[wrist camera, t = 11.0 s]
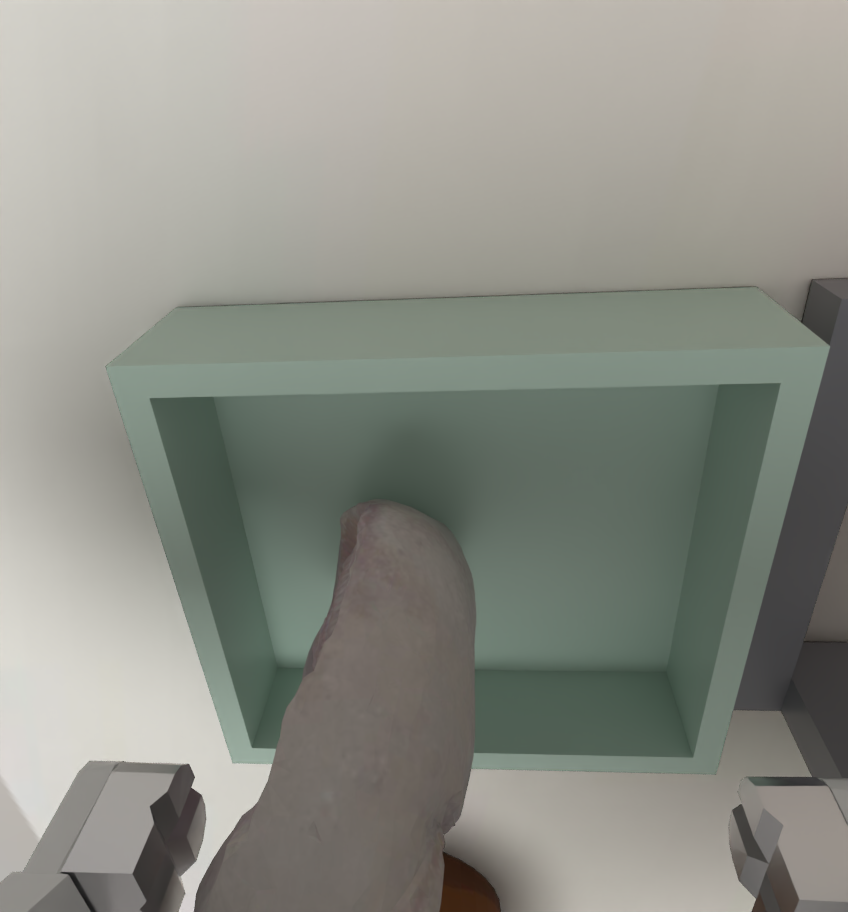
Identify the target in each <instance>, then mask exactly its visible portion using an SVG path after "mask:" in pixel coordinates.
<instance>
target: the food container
mask: <svg viewBox="0 0 848 912" xmlns="http://www.w3.org/2000/svg"><path fill="white" fill-rule="evenodd" d="M442 853H443V859H444V865H445V866H444V876H443V887H442V898H441V906H440V911H439V912H501V909H500V903H499V898H498V896H497V894H496V892H495V890H494V888H493V887H492V886H491V884H490V883H489V882H488V881H487V880H486V878H484V877H483V876H482V875H481V874H480V873H479V872H477V871H476V870H475V869H474V868H472V867H471V866H469V865H467V864H466V863H464V862H462V861H461V860H459V859H457V858H455V857H453V856H450V855H448V854H446V853H444V852H442Z"/></svg>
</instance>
